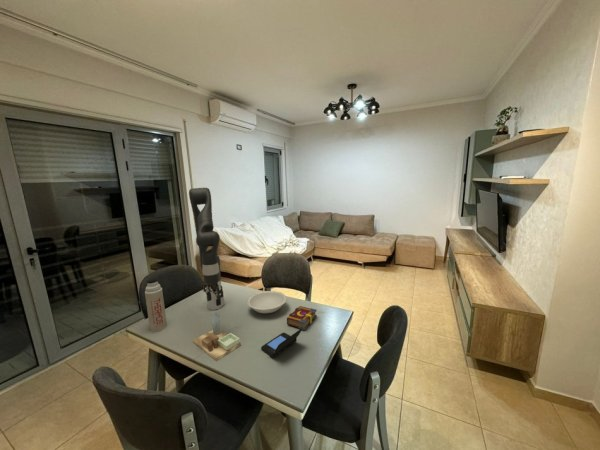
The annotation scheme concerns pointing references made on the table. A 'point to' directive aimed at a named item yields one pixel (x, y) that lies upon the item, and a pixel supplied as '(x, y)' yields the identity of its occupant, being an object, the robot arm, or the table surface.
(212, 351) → the board
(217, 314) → the dowel
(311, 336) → the table surface
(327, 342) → the table surface
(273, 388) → the table surface
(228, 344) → the tray
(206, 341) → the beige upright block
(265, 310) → the soup bowl
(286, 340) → the game console
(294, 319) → the decorative book
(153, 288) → the thermos bottle
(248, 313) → the table surface
